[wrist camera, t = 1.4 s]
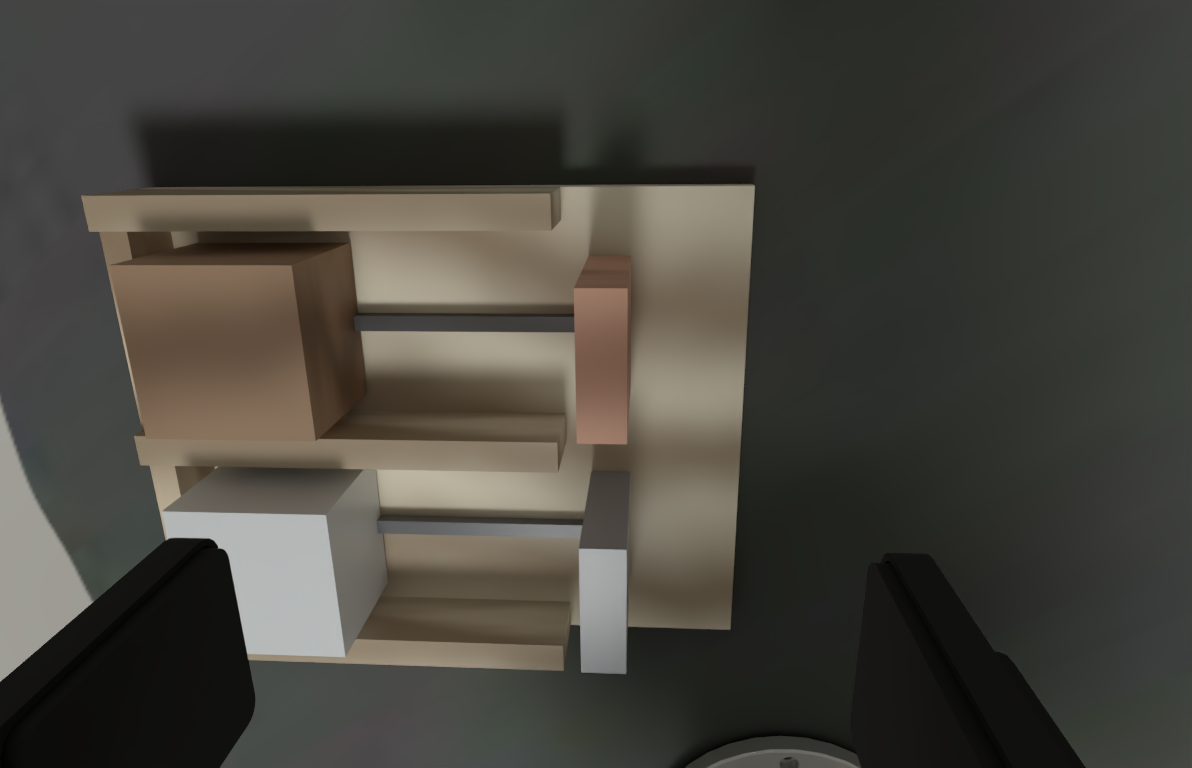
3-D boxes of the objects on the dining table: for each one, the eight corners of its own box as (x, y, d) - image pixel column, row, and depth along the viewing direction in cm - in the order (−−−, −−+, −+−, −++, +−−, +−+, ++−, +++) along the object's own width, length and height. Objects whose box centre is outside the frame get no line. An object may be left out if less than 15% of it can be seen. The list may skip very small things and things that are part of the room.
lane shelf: (728, 615, 34) (738, 676, 30) (232, 601, 36) (182, 657, 32) (751, 183, 28) (767, 192, 24) (153, 187, 30) (81, 195, 26)
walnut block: (630, 396, 30) (627, 458, 24) (222, 391, 31) (127, 450, 25) (631, 242, 28) (627, 271, 22) (196, 242, 29) (86, 270, 23)
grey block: (629, 588, 33) (626, 685, 27) (255, 578, 34) (176, 669, 28) (630, 461, 31) (626, 536, 25) (233, 454, 32) (144, 525, 26)
